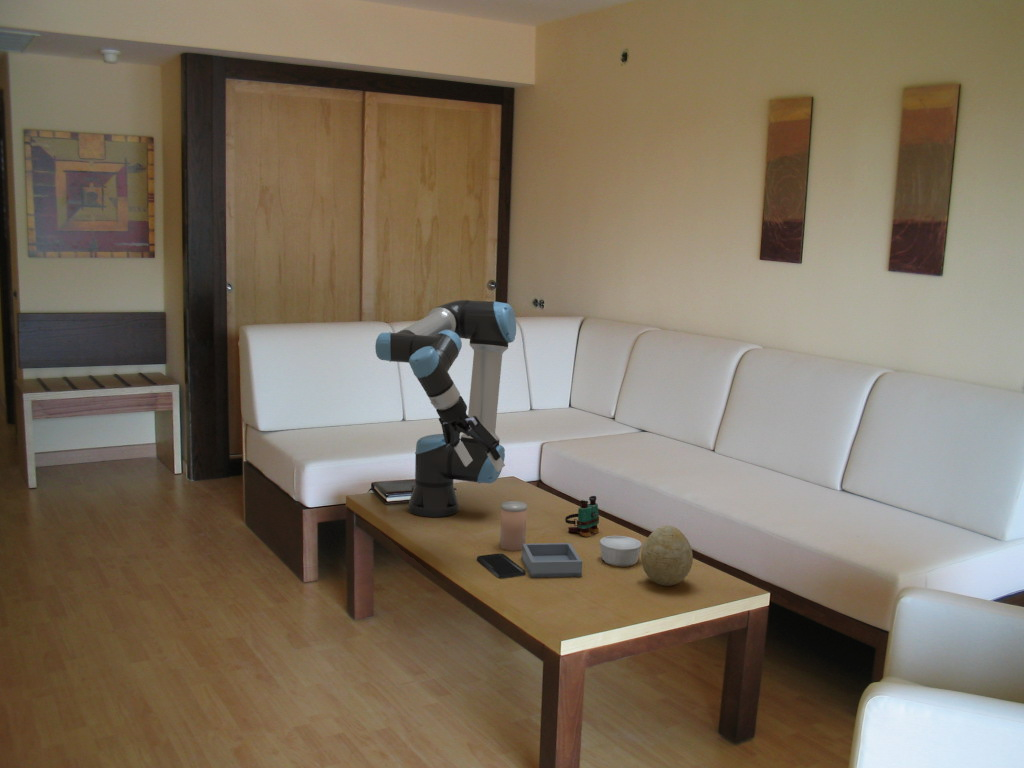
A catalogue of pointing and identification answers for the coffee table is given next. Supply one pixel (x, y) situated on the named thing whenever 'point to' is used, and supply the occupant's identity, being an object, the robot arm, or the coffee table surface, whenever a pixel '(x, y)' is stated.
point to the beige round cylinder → (513, 525)
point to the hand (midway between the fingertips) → (484, 465)
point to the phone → (501, 565)
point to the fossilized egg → (667, 556)
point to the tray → (551, 560)
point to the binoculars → (585, 518)
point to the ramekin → (620, 550)
